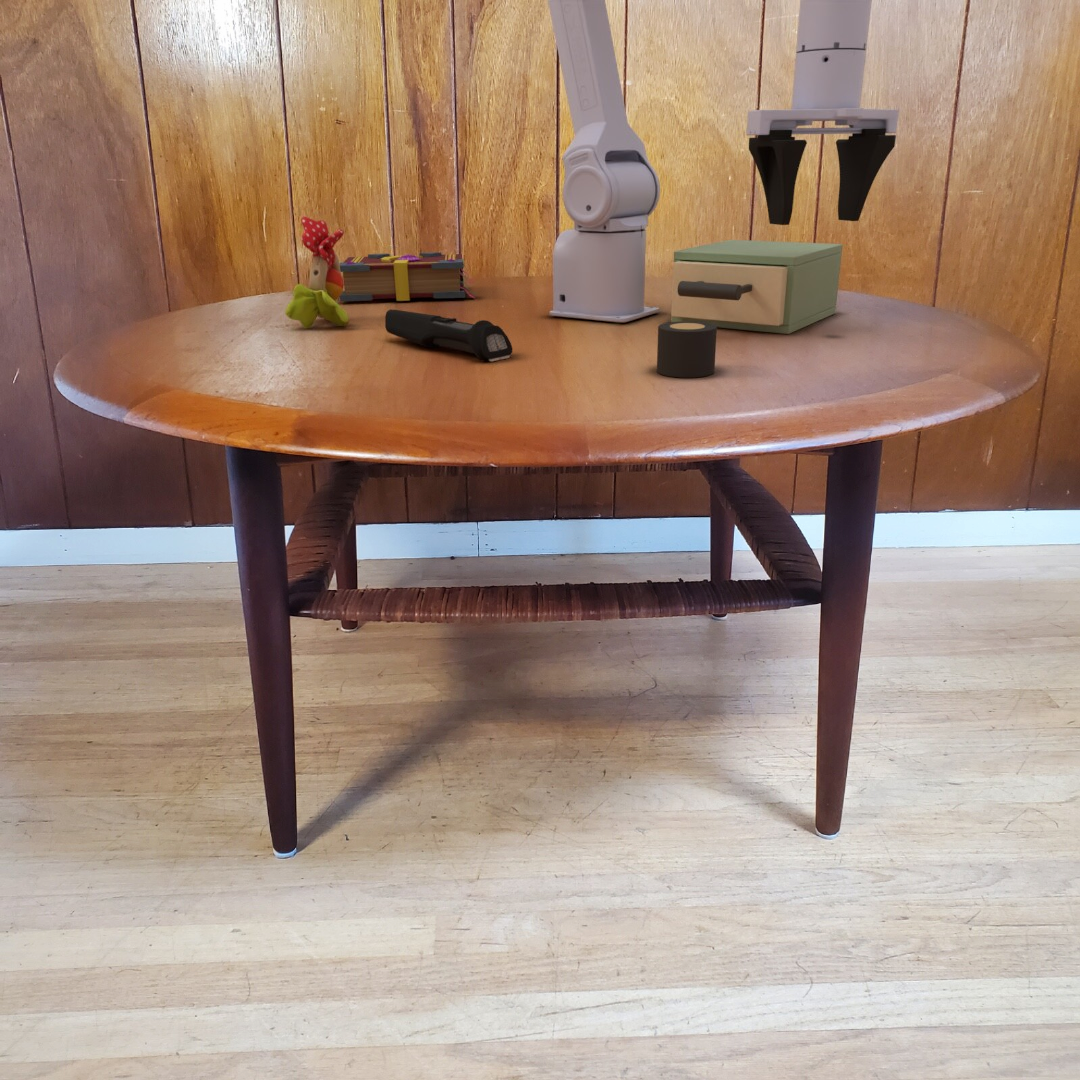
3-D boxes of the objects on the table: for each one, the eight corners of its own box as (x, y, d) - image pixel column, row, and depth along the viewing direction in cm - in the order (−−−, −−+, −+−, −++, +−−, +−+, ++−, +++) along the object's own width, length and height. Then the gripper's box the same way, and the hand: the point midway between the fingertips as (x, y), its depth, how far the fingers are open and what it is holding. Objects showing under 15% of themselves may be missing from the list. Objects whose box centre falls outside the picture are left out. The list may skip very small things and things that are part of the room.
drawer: (761, 333, 84) (765, 273, 82) (651, 322, 90) (652, 266, 88) (823, 307, 96) (829, 254, 94) (723, 299, 102) (726, 250, 100)
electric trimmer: (408, 337, 91) (405, 304, 90) (516, 356, 81) (514, 319, 79) (377, 343, 88) (374, 309, 87) (484, 363, 78) (482, 326, 77)
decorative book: (350, 291, 121) (346, 251, 119) (473, 287, 122) (471, 247, 120) (340, 304, 110) (335, 261, 108) (474, 300, 111) (472, 257, 109)
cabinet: (788, 334, 88) (795, 257, 85) (670, 323, 95) (673, 251, 92) (835, 313, 98) (843, 244, 95) (726, 304, 105) (730, 239, 102)
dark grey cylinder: (646, 373, 74) (647, 328, 72) (673, 363, 77) (674, 319, 76) (698, 380, 71) (701, 333, 70) (723, 369, 75) (726, 323, 73)
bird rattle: (301, 340, 101) (279, 319, 92) (300, 239, 101) (278, 208, 92) (358, 339, 101) (342, 318, 92) (357, 238, 101) (340, 208, 92)
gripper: (788, 46, 72) (773, 229, 77) (932, 49, 77) (909, 221, 82) (737, 54, 78) (727, 223, 83) (874, 57, 83) (856, 216, 88)
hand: (814, 222), depth 83 cm, fingers open, 7 cm apart
